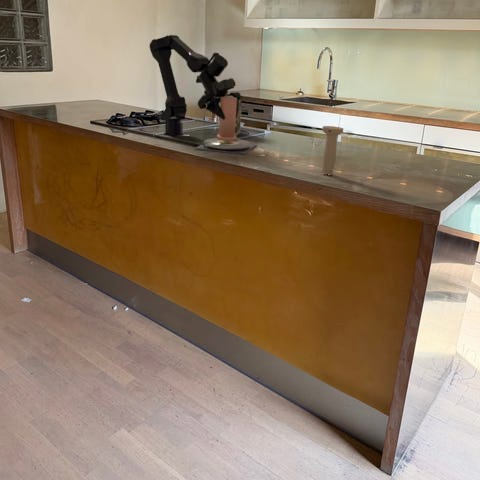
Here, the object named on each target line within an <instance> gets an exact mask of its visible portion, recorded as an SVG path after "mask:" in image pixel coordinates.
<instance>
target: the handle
mask: <svg viewBox="0 0 480 480" xmlns="http://www.w3.org/2000/svg"><path fill="white" fill-rule="evenodd" d="M321 130H322V132H323V133H324V134H326V135H325V136H326V139H325V144H324V149H323V154H322V155H323V156H322V170H321V171H322V173H325V174H332V173H333V174H334V169H335V166H336V159H337V158H336V157H337V145H338V136H339V135H342V134H343V132H344V128H343V127H339V126H332V125H331V126H330V125H323V126H322V129H321ZM333 174H332V175H333Z"/></svg>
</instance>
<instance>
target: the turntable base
mask: <svg viewBox="0 0 480 480" xmlns="http://www.w3.org/2000/svg"><path fill="white" fill-rule="evenodd" d="M249 143H250V142H249ZM256 146H257V143H250V147H249V148H247V149H241V150H221V149H214V148H209V147H206V146H205V145H202V144H201V145H198V146H196V147H195V148H194V149H195V150H196V151H198V150H199V151H207V152H216V153H223V154H225V153H226V154H232V155H233V154H236V155H244V156H245V154H247V153H248V152H250V151H251V150H253V148H255V147H256Z"/></svg>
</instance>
